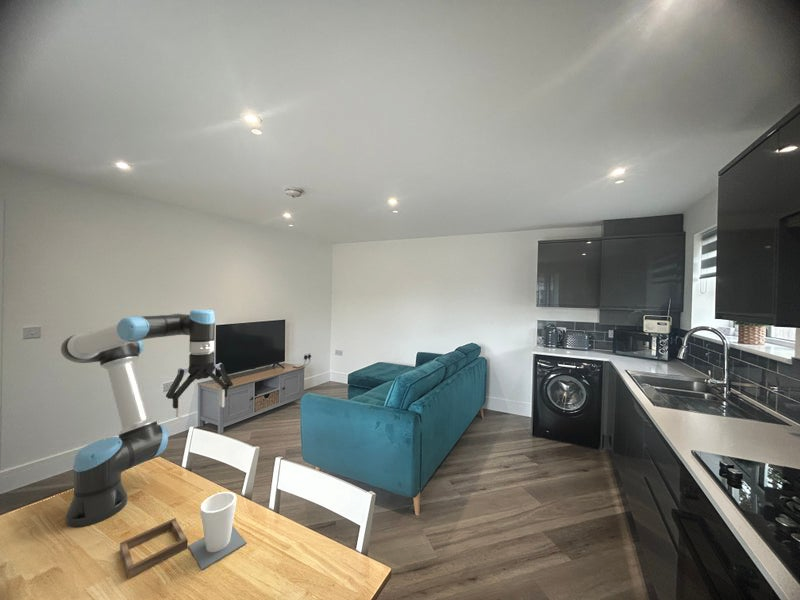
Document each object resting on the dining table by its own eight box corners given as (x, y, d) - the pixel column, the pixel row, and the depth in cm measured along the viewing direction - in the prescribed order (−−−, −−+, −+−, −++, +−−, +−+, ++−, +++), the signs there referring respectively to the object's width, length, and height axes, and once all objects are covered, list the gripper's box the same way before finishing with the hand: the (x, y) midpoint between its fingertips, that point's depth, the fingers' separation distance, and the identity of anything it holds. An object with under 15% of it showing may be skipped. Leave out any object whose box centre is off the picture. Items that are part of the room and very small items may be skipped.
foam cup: (218, 559, 87) (219, 515, 86) (192, 553, 88) (192, 509, 88) (242, 534, 96) (243, 494, 96) (217, 529, 98) (218, 489, 98)
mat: (188, 546, 91) (188, 545, 91) (230, 524, 100) (230, 523, 100) (201, 570, 84) (202, 569, 84) (246, 543, 93) (246, 542, 93)
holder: (120, 551, 89) (120, 542, 89) (175, 525, 99) (175, 517, 99) (128, 579, 81) (128, 569, 81) (187, 547, 91) (187, 539, 91)
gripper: (161, 359, 96) (160, 425, 96) (242, 349, 115) (241, 404, 115) (155, 356, 100) (154, 418, 101) (234, 347, 120) (233, 400, 120)
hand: (201, 411), depth 108 cm, fingers open, 13 cm apart
